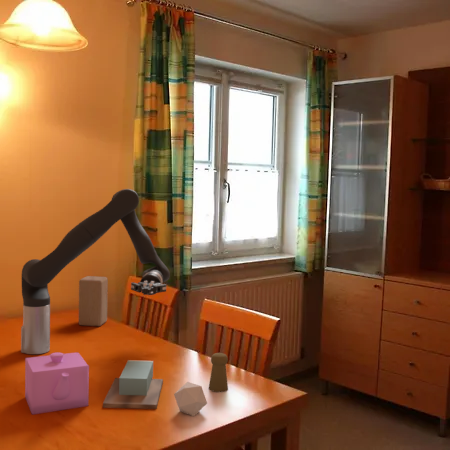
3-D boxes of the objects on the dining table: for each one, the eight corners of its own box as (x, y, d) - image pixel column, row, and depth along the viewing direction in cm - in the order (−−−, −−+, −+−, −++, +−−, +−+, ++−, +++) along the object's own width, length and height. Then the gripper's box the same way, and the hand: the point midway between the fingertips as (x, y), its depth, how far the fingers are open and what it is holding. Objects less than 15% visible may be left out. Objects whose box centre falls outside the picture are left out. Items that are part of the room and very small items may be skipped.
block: (107, 321, 250) (108, 276, 249) (100, 327, 240) (101, 280, 239) (85, 319, 251) (86, 275, 250) (77, 325, 241) (78, 279, 240)
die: (212, 414, 158) (205, 380, 162) (203, 409, 150) (196, 374, 155) (185, 422, 159) (179, 388, 164) (174, 418, 151) (168, 382, 156)
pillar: (127, 375, 181) (119, 394, 165) (128, 360, 180) (119, 378, 164) (152, 376, 181) (146, 395, 165) (153, 361, 180) (146, 378, 164)
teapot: (36, 425, 146) (36, 372, 145) (22, 391, 168) (23, 345, 167) (94, 416, 153) (95, 365, 152) (74, 384, 175) (75, 340, 174)
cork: (231, 387, 177) (232, 352, 176) (223, 393, 171) (224, 358, 170) (213, 383, 179) (215, 349, 178) (205, 389, 174) (206, 355, 173)
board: (102, 407, 158) (102, 403, 158) (115, 381, 178) (115, 377, 178) (156, 408, 158) (156, 404, 158) (162, 382, 178) (162, 379, 178)
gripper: (133, 271, 206) (126, 279, 189) (170, 273, 206) (165, 281, 189) (132, 291, 206) (125, 301, 189) (169, 293, 207) (164, 303, 189)
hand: (145, 291), depth 189 cm, fingers closed
